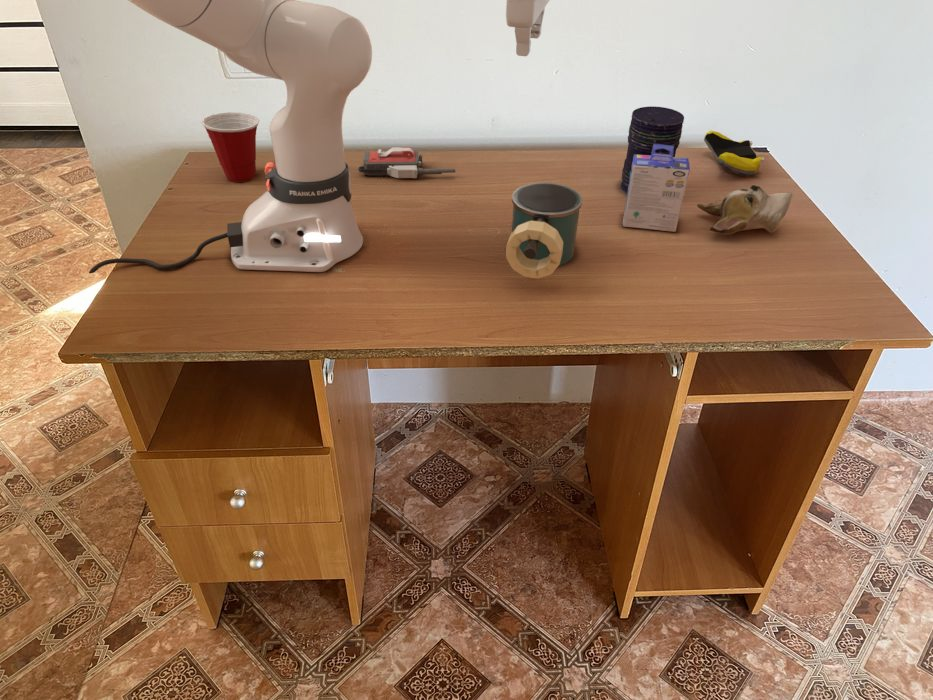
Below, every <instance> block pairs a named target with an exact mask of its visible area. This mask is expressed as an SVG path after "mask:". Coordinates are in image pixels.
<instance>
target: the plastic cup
mask: <svg viewBox="0 0 933 700" xmlns="http://www.w3.org/2000/svg"><path fill="white" fill-rule="evenodd" d="M259 123H260V119H259V118H258V117H257V116H255V115H253V114H250V113H245V112H232V111H231V112H229V111H228V112H218V113H213V114H210V115H207V116H205V117H204V118H202V120H201V124H202V126H203V128H204V129H205V131H206V133H207V135H208V137H209V140H210V142H211V145H212V147H213V149H214V153H215V154H216V157H217V159H218V162H219V164H220V166H221V167H222V171H223V172H224V175H225V177H226V179H227V180H228V181H229V182H231V183H244V182H248V181H252V180H253V179H254V178H255V177H256V173H257V171H256V170H257V168H256V166H257V165H256V159H257V131H258V130H257V129H258V126H259Z"/></svg>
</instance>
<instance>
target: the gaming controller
mask: <svg viewBox="0 0 933 700" xmlns="http://www.w3.org/2000/svg"><path fill="white" fill-rule="evenodd" d="M703 141H704V143H705V144H706V146H707V148H708V149H709V150H710V151H711V153H712V154H713V155H714V157H715V158H716V160H717V163H718V165H719V166H720V168H721V169H722V170H723V171H725V172H726V173H728V174H735V175H738V176H740V177H744V178H748V177H750V176H751V175H756V174H758V173H759V170H760V166H761V164H762V162H763V161H764V160H765V157H764V156H757V154H756V152H755V151H754V149H753V148H752V146H753V141H752V140H750V139H748V140H745V139H744V140H740V141H736V140H734V139H731V138H730V137H727V136H726V135H724V134H722V133H721V132H719V131H715V130H709V131H707V132H706V133H705V136H704V138H703Z"/></svg>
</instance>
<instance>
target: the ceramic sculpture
mask: <svg viewBox="0 0 933 700" xmlns="http://www.w3.org/2000/svg"><path fill="white" fill-rule="evenodd" d="M792 198H793V192H776V193H772V194H767V192H766V190H765V189H764V188H762V187H760V186H758V185H755V184H753V185H751V186H750V187H749V188H748V189H745V188H740V189H735V190H732V191H730V192H729V193H728V194H726V196H724V198H723V199H719V200H716V201H715V202H711V203H708V204H702V203H698V204H696V207H697V208H698V209H700V210H702V211H703V212H704V213H707V214H708V215H711V216H712V217H720V219H718V220H717V221H716V223H715V224H713V225H712V226H710V227H709V228H708V230H709V231H710V232H712V233H717V234H720V235H725V236H730V235H733V234H735V233H738V232H742V231H748V230H749V231H750V230H756V229H764V230H766V231H767V232H768V233H774V232H776V231H777V230H778V228H779V227H780V224H781V223H780V222H781V221H782V220H783V219H784V217H785V216H786V214H787V212H788V211H789V207H790V204H791V202H792Z"/></svg>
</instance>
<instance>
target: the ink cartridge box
mask: <svg viewBox="0 0 933 700" xmlns="http://www.w3.org/2000/svg"><path fill="white" fill-rule="evenodd" d="M657 149H666V150H668V151H670V153H669V154H661V153H656V152H655V150H657ZM673 149H674V146H671V145H661V144H653V149H652V153H651V155H637V154H634V156H633V162H632V168H631V173H630V180H629V186H628V192H627V194H626V199H625V200H626V201H625V206H624V212H623V217H622V224H621V225H622V227H625V228H635V229H643V230H644V229H645V230H654V231H663V232H673V233H675V232H677V229H678V228H677V227H678V223H679V220H680V219H679V218H680V215H681V210H682V206H683V203H684V202H683V201H684V197H685V192H686V187H687V184H688V179H689V176H690V175H689V174H690V170H691V167H690V161H689V157H680V156H679V157H677V156H675V157H673Z"/></svg>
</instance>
